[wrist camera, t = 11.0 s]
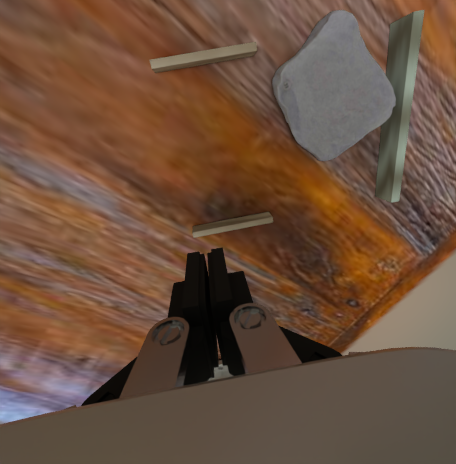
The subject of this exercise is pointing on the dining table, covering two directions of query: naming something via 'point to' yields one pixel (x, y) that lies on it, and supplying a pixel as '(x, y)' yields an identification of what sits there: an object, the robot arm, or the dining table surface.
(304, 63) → the stone block
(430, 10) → the dining table surface
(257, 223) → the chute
